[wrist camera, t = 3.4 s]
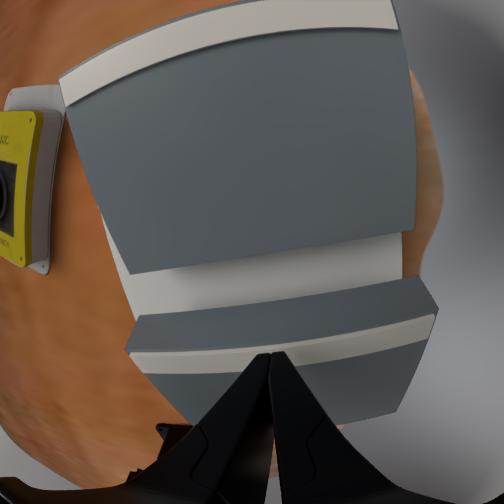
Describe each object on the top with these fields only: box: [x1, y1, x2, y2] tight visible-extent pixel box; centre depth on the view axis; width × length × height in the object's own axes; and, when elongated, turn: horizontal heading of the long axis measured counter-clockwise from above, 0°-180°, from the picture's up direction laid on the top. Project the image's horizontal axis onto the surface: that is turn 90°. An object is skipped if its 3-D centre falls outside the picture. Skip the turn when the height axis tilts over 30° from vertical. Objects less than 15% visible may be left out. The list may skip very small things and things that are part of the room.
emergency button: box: [0, 84, 66, 274], centre depth 14 cm, size 9×4×15 cm
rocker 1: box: [58, 0, 417, 275], centre depth 9 cm, size 9×12×2 cm
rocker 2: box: [125, 275, 439, 427], centre depth 12 cm, size 9×12×2 cm
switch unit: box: [98, 207, 402, 321], centre depth 14 cm, size 22×15×4 cm
